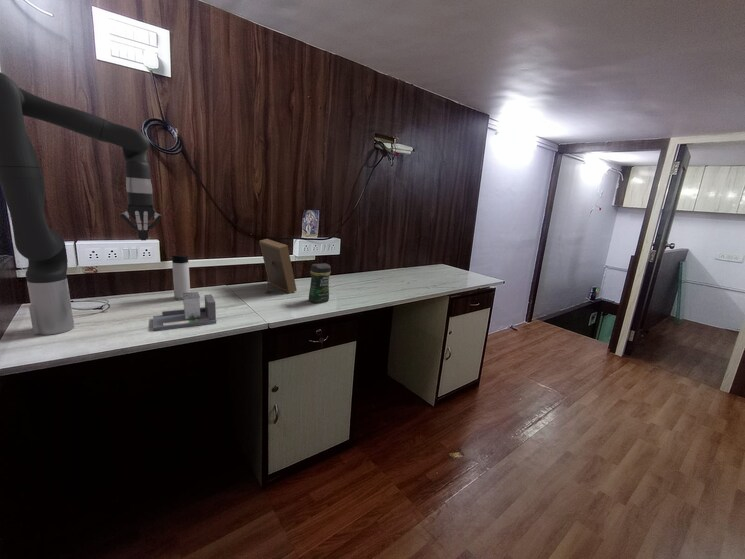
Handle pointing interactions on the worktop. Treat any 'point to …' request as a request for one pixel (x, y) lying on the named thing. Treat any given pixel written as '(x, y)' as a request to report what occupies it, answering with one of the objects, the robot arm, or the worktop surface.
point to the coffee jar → (319, 282)
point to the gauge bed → (178, 319)
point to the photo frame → (278, 265)
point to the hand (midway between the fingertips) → (143, 240)
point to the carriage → (191, 305)
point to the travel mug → (180, 276)
